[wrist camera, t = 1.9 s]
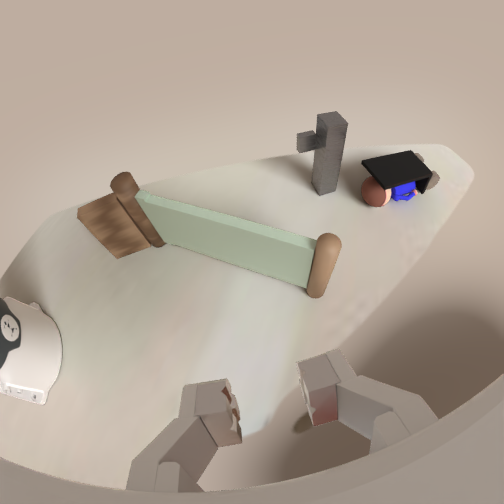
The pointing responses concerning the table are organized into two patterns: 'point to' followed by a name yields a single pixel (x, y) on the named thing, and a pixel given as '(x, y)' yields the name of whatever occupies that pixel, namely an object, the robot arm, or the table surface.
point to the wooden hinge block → (120, 219)
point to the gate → (245, 242)
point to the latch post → (325, 150)
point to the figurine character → (396, 178)
